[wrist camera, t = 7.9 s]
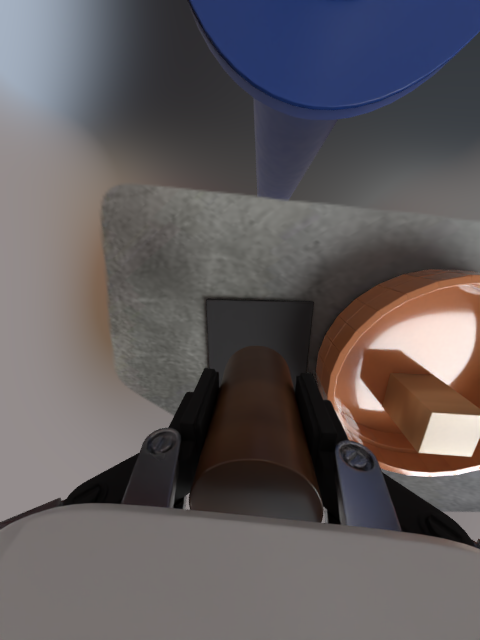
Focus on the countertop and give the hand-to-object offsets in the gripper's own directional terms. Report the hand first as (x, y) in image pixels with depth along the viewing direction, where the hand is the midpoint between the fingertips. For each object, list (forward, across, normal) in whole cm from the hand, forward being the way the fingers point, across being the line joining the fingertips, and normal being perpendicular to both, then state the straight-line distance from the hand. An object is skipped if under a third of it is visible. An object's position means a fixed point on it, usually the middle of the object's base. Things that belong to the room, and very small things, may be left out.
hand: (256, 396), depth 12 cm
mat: (+11, 0, +3) cm, 11 cm away
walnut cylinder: (+2, 0, 0) cm, 2 cm away
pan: (+11, -15, +3) cm, 19 cm away
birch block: (+10, -15, +6) cm, 19 cm away
